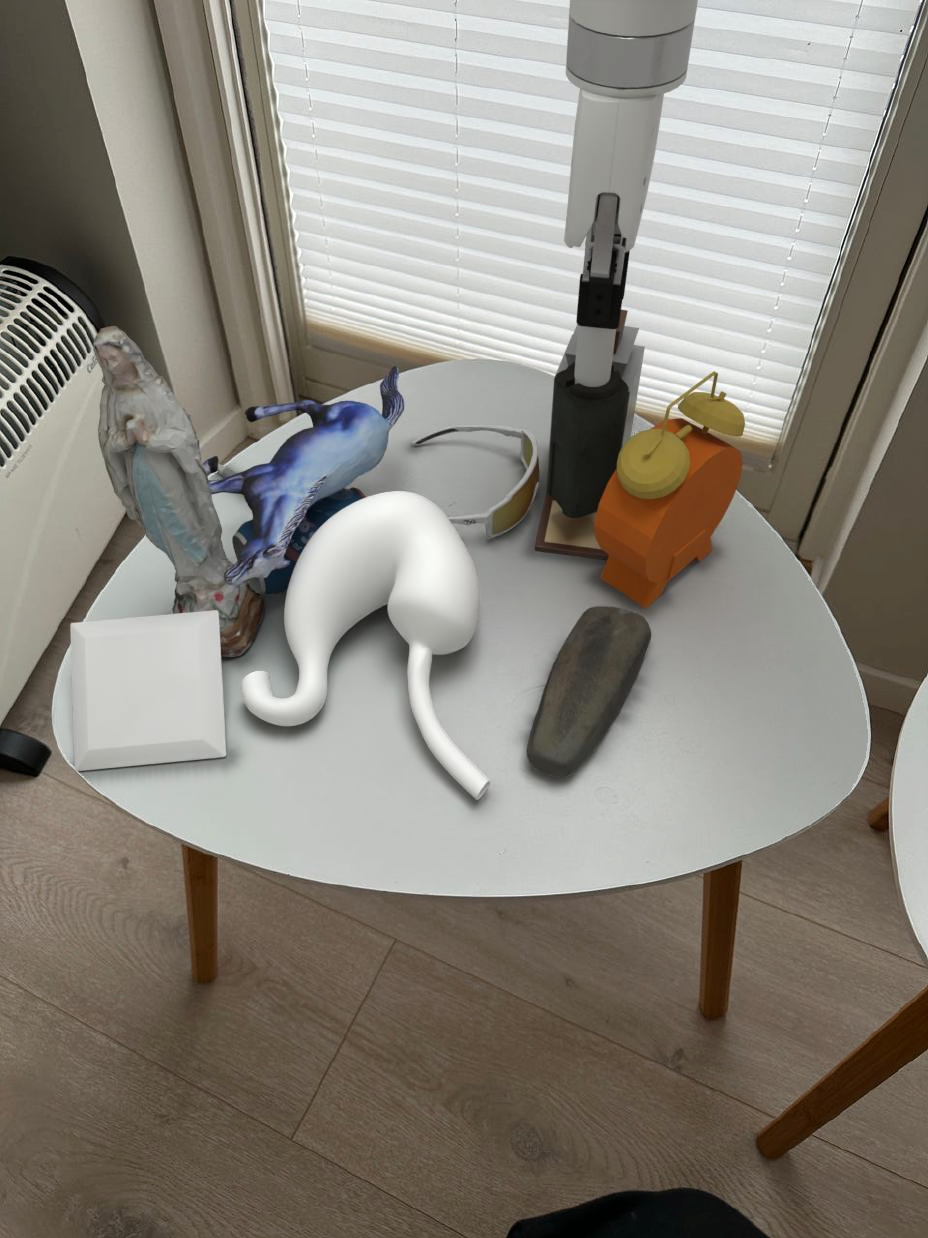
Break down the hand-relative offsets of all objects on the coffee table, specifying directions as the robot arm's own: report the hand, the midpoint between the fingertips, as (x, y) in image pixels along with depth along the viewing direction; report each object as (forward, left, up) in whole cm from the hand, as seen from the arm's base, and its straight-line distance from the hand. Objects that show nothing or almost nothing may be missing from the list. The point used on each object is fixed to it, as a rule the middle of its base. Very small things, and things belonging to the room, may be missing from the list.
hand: (600, 309), depth 72 cm
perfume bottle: (0, -7, -23) cm, 25 cm away
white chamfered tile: (+31, +28, -20) cm, 46 cm away
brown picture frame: (0, -4, -24) cm, 24 cm away
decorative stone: (-3, +19, -24) cm, 31 cm away
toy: (+30, +2, -16) cm, 34 cm away
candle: (0, 0, -20) cm, 20 cm away
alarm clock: (-8, +3, -24) cm, 26 cm away
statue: (+30, +18, -24) cm, 42 cm away
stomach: (+13, +19, -24) cm, 33 cm away
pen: (+31, 0, -24) cm, 39 cm away
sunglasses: (+12, -3, -24) cm, 27 cm away
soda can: (+28, +14, -20) cm, 37 cm away
